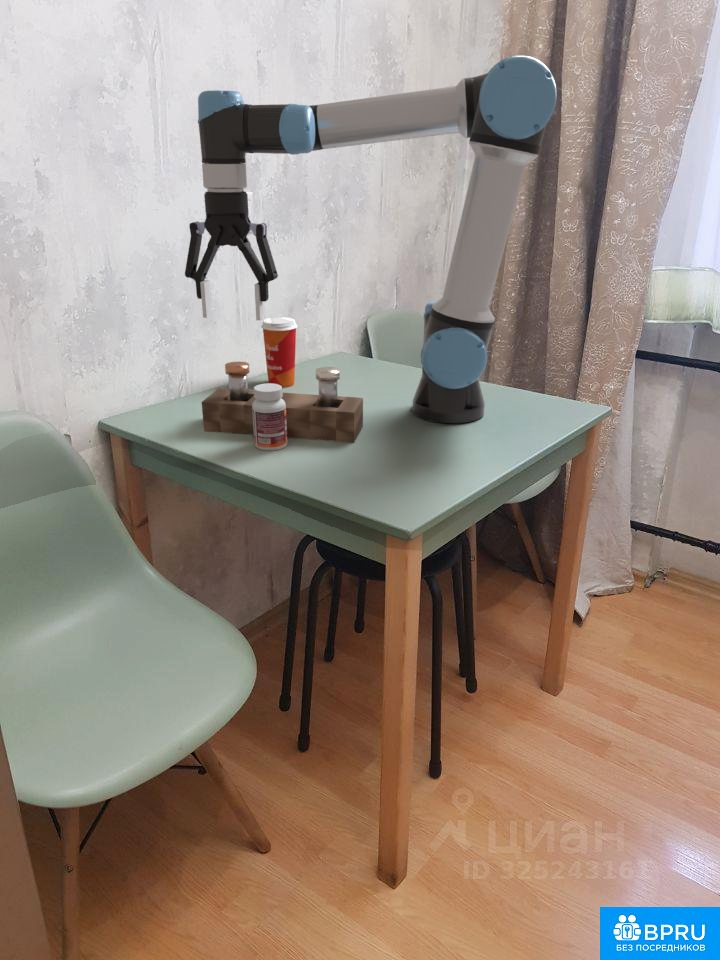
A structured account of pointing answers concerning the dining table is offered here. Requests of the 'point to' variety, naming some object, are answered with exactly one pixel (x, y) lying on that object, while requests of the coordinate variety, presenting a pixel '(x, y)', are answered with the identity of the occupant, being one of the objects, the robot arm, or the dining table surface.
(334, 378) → the knob
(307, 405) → the brown wooden long block
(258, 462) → the dining table surface
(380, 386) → the dining table surface
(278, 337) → the coffee cup
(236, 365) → the knob
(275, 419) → the pill bottle
